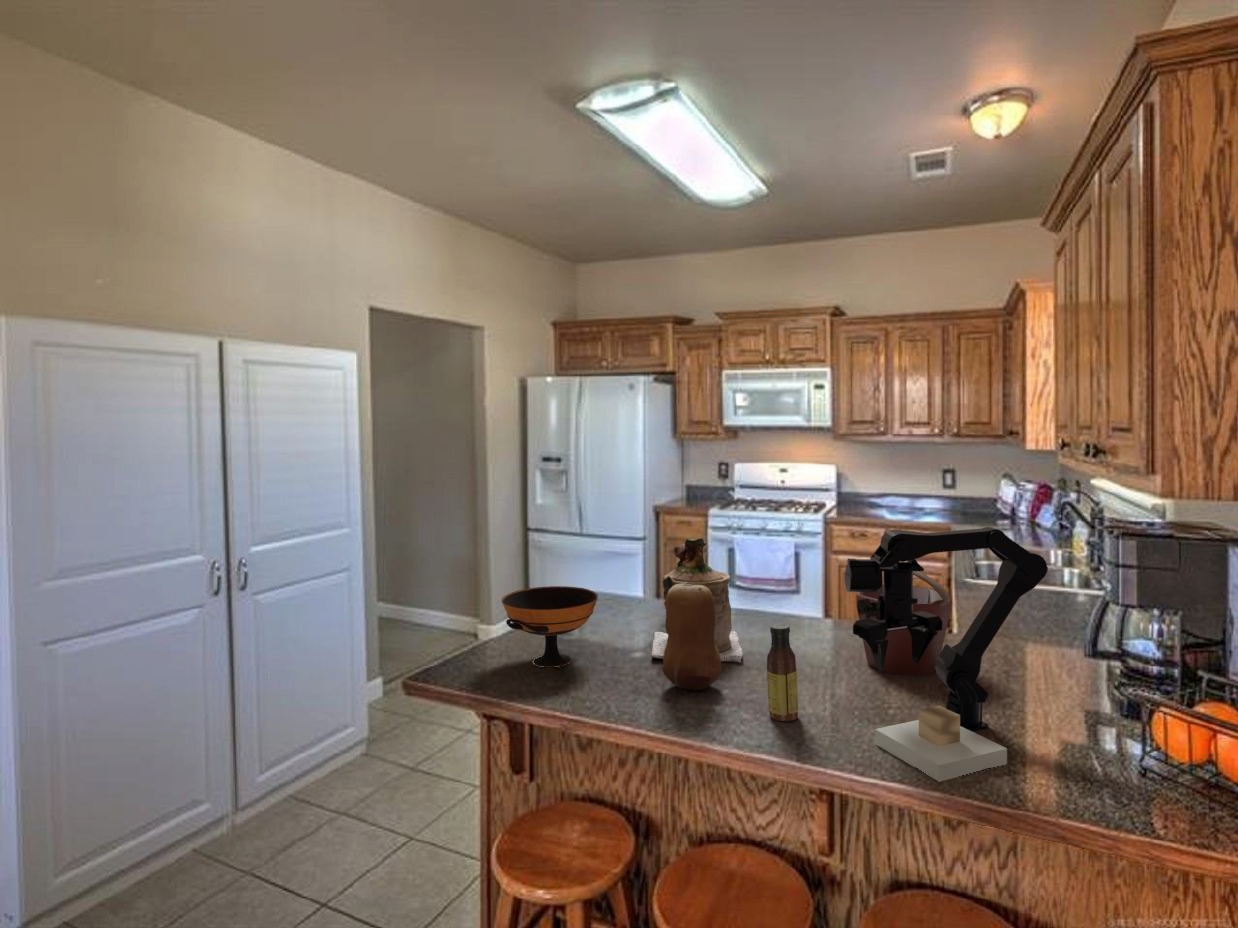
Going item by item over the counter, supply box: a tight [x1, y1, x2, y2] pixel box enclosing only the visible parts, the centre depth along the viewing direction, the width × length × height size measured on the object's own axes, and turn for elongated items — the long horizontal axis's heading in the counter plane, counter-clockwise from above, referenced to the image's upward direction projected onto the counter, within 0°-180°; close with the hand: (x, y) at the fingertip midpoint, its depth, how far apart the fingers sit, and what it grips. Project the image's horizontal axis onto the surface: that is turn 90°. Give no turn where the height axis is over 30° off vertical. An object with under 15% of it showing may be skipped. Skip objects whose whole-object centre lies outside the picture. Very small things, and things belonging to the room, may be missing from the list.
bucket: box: [855, 571, 952, 677], centre depth 184 cm, size 24×22×25 cm
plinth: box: [874, 719, 1008, 783], centre depth 134 cm, size 16×16×3 cm
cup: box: [501, 585, 599, 667], centre depth 190 cm, size 36×26×18 cm
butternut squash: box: [662, 583, 722, 692], centre depth 170 cm, size 14×13×25 cm
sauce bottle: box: [766, 623, 799, 723], centre depth 152 cm, size 7×6×20 cm
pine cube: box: [918, 705, 960, 746], centre depth 134 cm, size 5×5×5 cm
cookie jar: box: [651, 537, 744, 663], centre depth 199 cm, size 25×25×32 cm
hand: (897, 666), depth 148 cm, fingers open, 9 cm apart
